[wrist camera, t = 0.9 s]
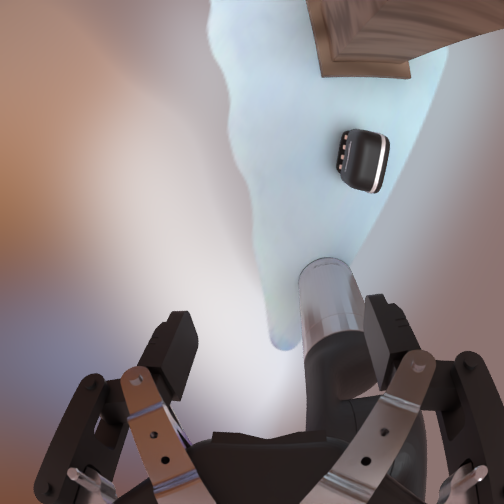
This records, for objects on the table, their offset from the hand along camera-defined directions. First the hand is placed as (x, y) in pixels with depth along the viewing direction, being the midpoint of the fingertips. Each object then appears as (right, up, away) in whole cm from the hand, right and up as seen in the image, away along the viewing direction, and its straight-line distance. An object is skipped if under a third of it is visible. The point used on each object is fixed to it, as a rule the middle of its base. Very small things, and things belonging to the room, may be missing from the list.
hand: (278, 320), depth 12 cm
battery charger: (+12, +17, +24) cm, 32 cm away
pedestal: (+14, +33, +16) cm, 39 cm away
